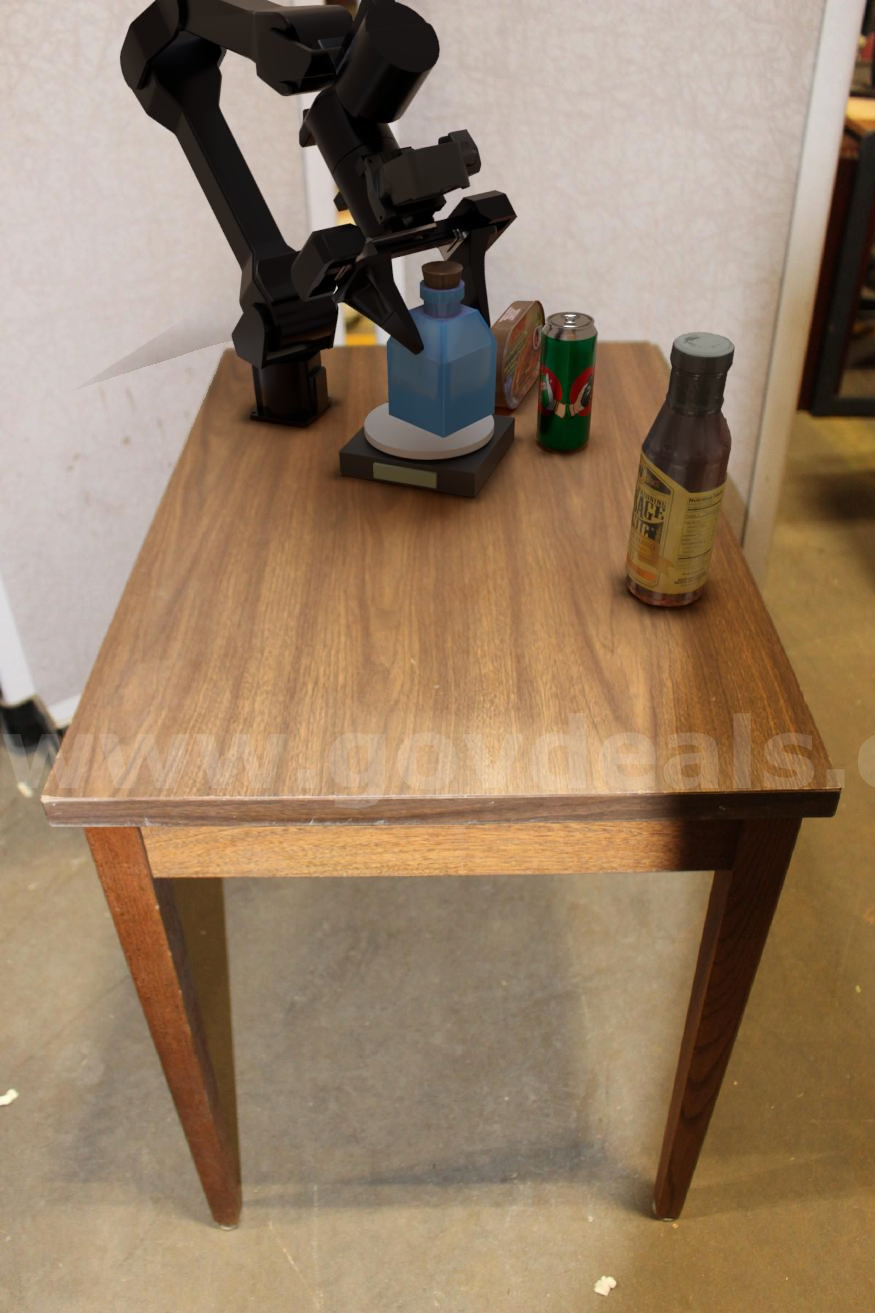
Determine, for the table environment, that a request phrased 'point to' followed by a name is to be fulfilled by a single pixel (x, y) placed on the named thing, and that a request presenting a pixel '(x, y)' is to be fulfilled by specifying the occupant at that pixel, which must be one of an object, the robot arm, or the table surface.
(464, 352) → the perfume bottle
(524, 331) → the tin
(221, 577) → the table surface
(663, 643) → the table surface
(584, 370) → the soda can
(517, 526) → the table surface
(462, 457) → the scale
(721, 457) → the sauce bottle
